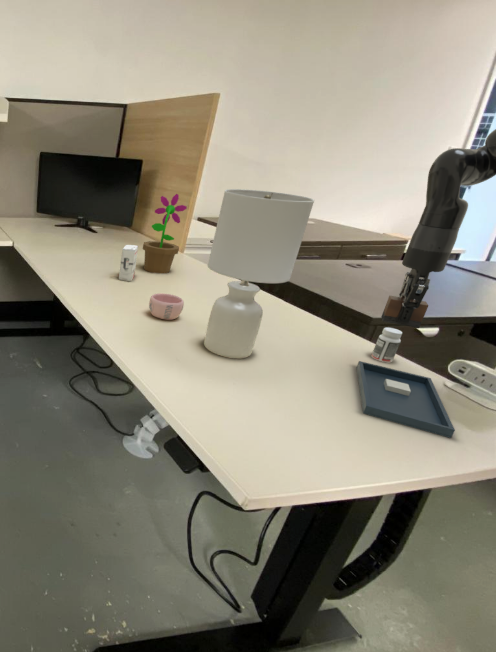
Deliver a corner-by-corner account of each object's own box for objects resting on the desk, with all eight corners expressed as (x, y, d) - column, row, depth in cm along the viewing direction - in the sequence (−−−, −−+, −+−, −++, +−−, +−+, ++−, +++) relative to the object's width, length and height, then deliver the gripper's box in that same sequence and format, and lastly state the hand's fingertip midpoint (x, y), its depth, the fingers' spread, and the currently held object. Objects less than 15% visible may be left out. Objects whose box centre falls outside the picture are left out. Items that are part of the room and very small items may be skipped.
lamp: (229, 332, 133) (267, 190, 117) (282, 362, 118) (334, 202, 101) (175, 338, 127) (207, 188, 111) (222, 370, 111) (268, 200, 95)
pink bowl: (184, 323, 137) (188, 305, 135) (151, 321, 137) (154, 302, 135) (173, 309, 148) (177, 291, 146) (142, 307, 148) (145, 289, 146)
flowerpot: (178, 270, 193) (193, 195, 181) (168, 277, 182) (184, 198, 169) (145, 263, 200) (158, 190, 187) (133, 270, 188) (146, 193, 176)
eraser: (416, 323, 109) (426, 301, 107) (419, 328, 106) (428, 305, 104) (381, 317, 112) (389, 295, 110) (382, 321, 110) (391, 299, 107)
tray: (355, 368, 117) (358, 360, 116) (427, 385, 111) (430, 378, 110) (362, 414, 97) (366, 405, 96) (450, 439, 91) (455, 430, 90)
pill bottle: (393, 359, 124) (406, 331, 120) (390, 365, 121) (403, 335, 117) (372, 353, 127) (384, 325, 123) (369, 358, 123) (381, 329, 120)
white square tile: (406, 388, 108) (408, 384, 107) (408, 396, 104) (411, 391, 104) (383, 383, 109) (385, 378, 109) (385, 390, 106) (387, 385, 106)
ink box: (121, 274, 182) (126, 243, 177) (134, 276, 180) (139, 245, 175) (117, 279, 174) (122, 248, 169) (130, 281, 173) (136, 250, 168)
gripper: (458, 255, 95) (425, 333, 102) (445, 244, 106) (416, 315, 113) (413, 249, 98) (384, 325, 105) (405, 239, 109) (379, 308, 116)
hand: (400, 319), depth 109 cm, fingers closed on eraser, 3 cm apart
